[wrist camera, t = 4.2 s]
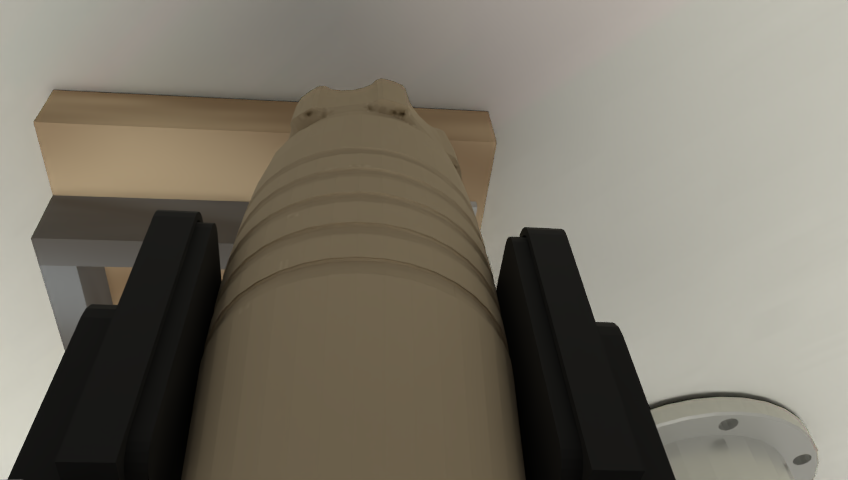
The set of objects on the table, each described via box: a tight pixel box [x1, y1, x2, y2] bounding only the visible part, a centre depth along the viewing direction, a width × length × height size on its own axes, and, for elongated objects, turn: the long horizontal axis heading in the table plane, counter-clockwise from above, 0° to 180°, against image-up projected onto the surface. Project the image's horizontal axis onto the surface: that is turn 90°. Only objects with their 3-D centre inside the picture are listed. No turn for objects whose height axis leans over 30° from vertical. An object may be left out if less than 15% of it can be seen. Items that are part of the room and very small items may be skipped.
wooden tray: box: [31, 90, 497, 351], centre depth 26 cm, size 14×13×4 cm
